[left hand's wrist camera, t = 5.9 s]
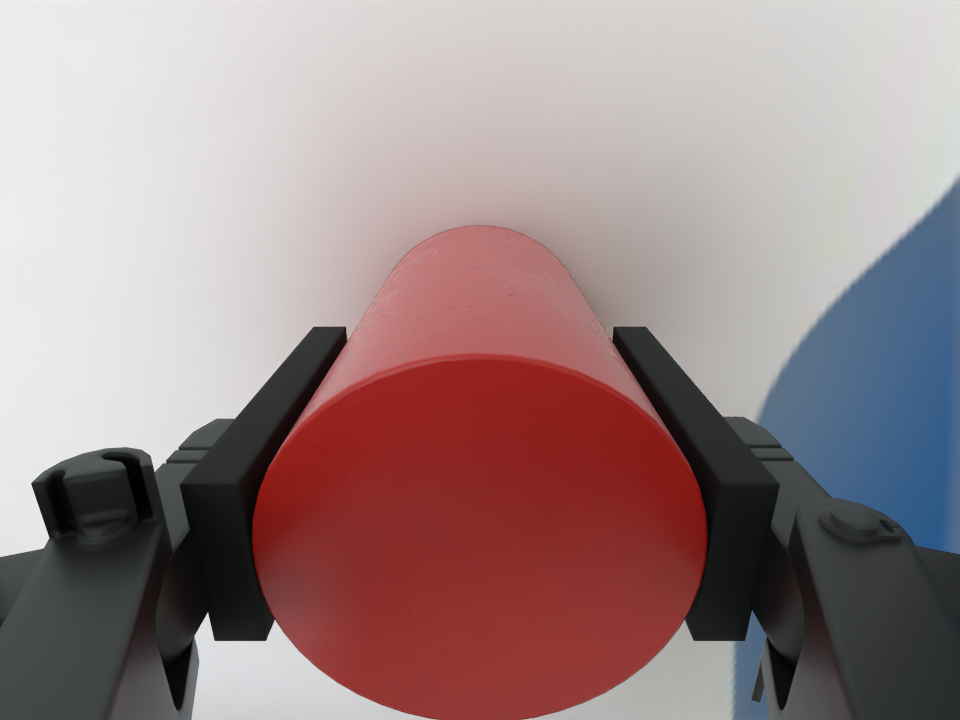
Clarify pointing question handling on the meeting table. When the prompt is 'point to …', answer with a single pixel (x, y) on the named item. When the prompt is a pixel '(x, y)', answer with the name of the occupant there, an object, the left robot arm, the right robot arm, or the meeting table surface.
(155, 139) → the meeting table surface
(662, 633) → the can
